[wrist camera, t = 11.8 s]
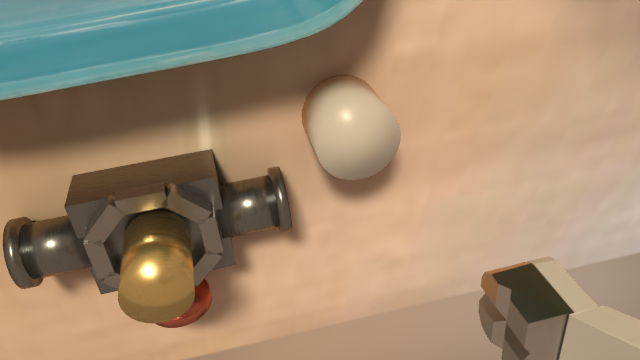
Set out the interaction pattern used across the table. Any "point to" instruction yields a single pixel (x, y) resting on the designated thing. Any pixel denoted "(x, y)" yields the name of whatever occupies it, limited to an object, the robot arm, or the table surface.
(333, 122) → the cream pebble-shaped knob
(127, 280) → the brass coupling
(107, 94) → the table surface
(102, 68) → the casserole dish
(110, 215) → the valve body
